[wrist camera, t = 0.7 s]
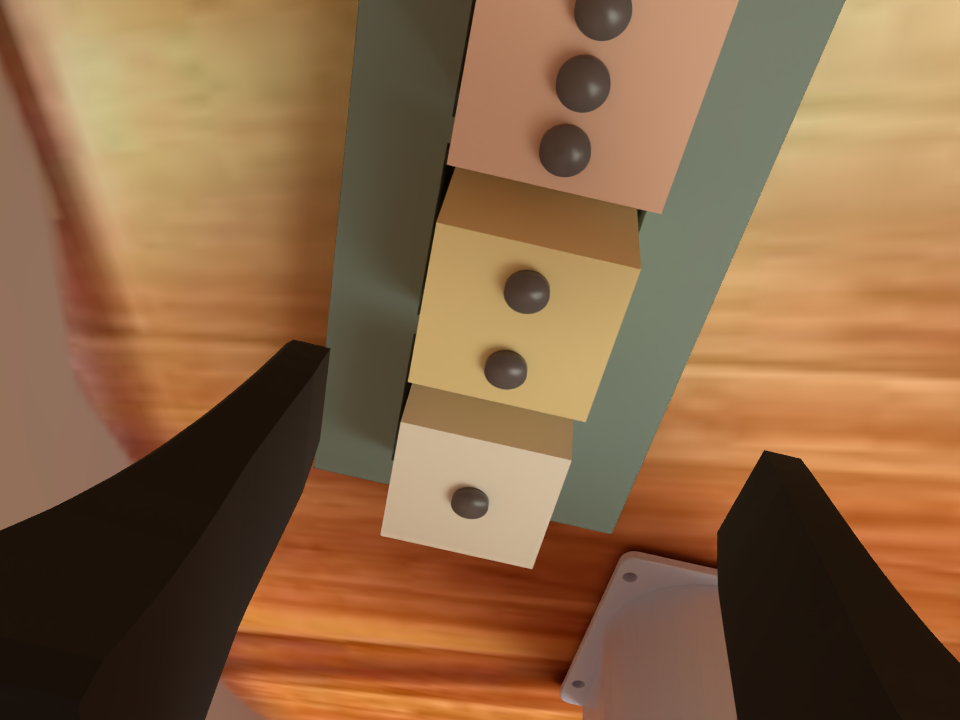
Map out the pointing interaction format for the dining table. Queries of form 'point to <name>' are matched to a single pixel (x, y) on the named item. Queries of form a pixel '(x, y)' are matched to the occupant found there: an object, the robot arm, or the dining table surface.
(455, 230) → the toy block
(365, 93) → the toy block sorting board
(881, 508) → the dining table surface
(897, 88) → the dining table surface
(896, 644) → the robot arm
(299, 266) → the dining table surface
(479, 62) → the toy block
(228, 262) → the dining table surface
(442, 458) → the toy block
